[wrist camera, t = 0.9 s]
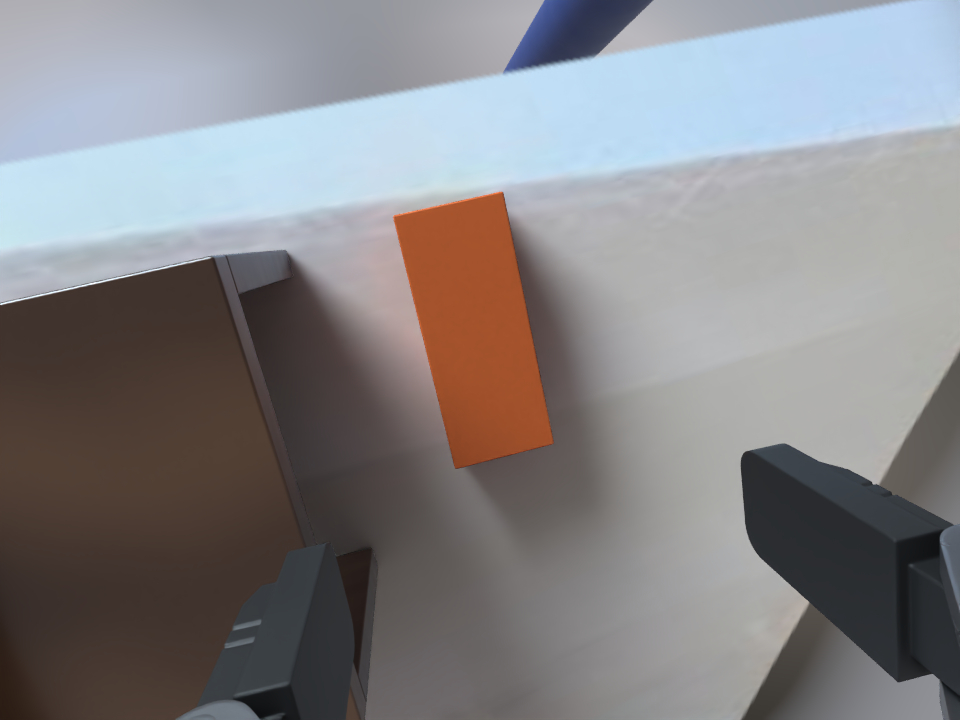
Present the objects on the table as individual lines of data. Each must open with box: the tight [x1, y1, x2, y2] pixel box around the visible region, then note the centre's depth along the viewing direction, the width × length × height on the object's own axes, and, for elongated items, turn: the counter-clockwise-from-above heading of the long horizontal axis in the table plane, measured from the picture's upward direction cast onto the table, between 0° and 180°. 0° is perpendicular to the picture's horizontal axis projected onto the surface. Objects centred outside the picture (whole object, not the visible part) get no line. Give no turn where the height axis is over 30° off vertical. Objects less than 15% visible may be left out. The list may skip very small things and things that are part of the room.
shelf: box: [0, 250, 378, 720], centre depth 21 cm, size 16×12×12 cm
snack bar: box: [393, 192, 554, 469], centre depth 26 cm, size 11×4×3 cm, turn 12°
